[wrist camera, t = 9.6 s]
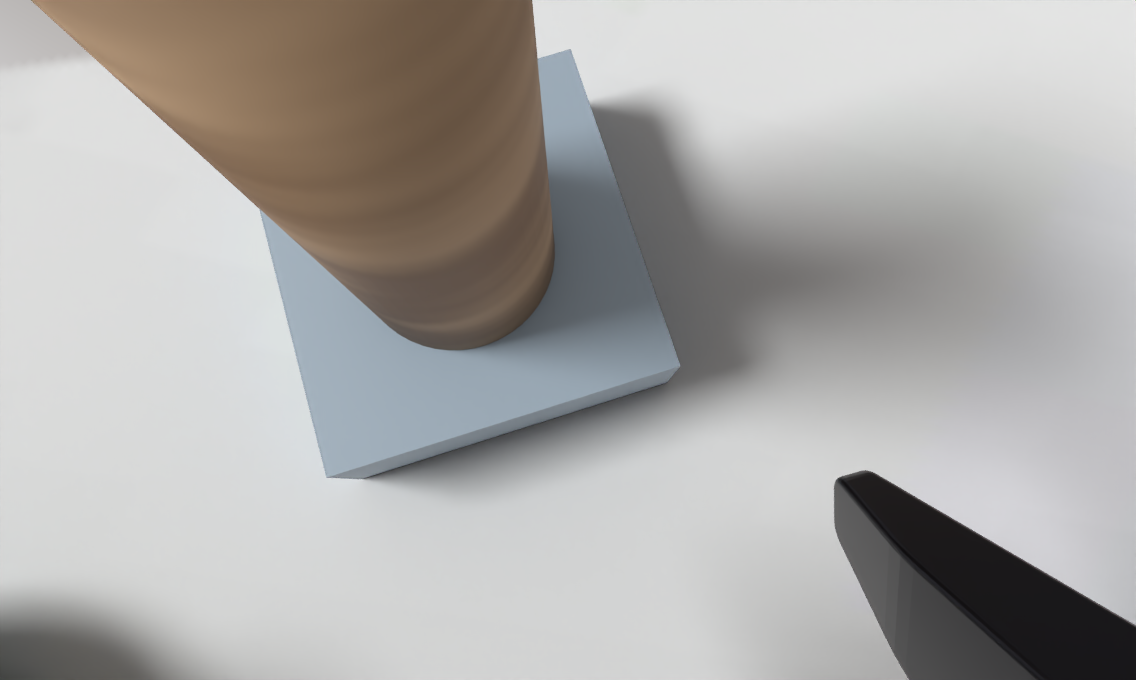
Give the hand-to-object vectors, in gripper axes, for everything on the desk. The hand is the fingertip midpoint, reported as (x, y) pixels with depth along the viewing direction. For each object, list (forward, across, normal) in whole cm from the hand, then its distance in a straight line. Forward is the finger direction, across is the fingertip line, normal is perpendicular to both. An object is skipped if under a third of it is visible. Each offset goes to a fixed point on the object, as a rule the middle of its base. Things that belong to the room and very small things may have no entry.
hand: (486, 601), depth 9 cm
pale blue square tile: (+14, 0, +3) cm, 14 cm away
